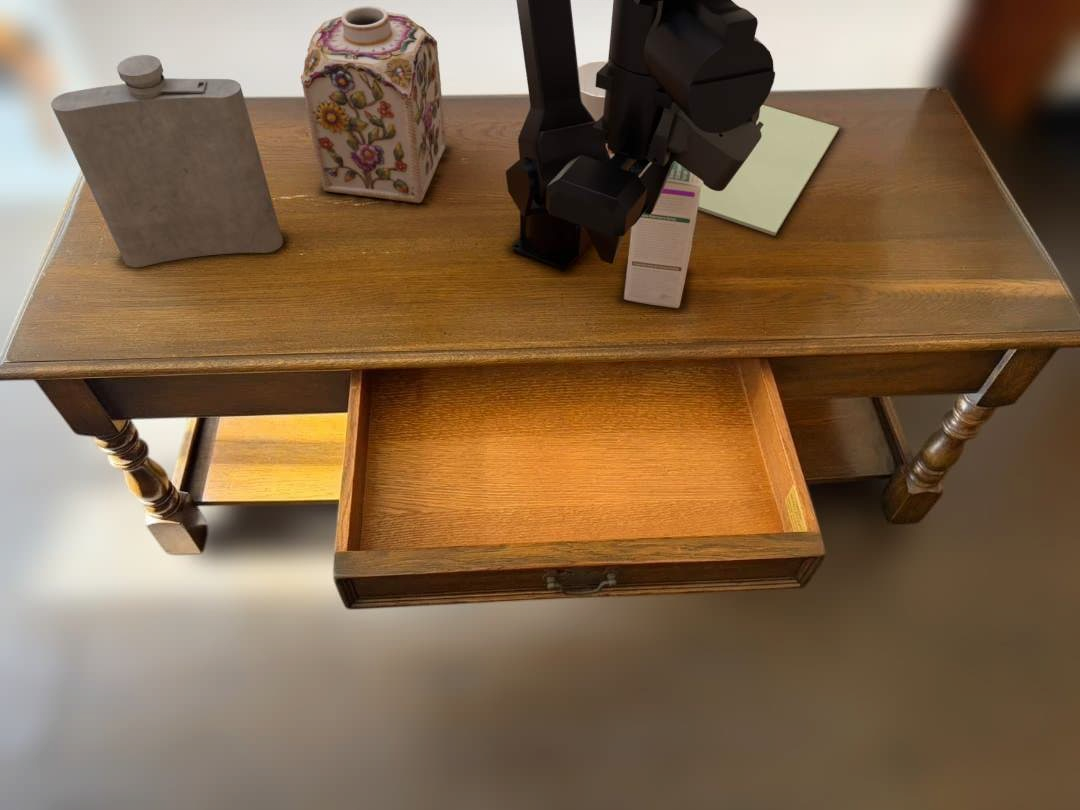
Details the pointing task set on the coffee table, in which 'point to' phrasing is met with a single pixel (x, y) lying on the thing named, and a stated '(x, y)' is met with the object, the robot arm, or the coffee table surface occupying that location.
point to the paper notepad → (771, 172)
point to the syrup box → (664, 243)
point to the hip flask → (171, 164)
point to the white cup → (592, 89)
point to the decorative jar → (374, 104)
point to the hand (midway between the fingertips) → (627, 236)
